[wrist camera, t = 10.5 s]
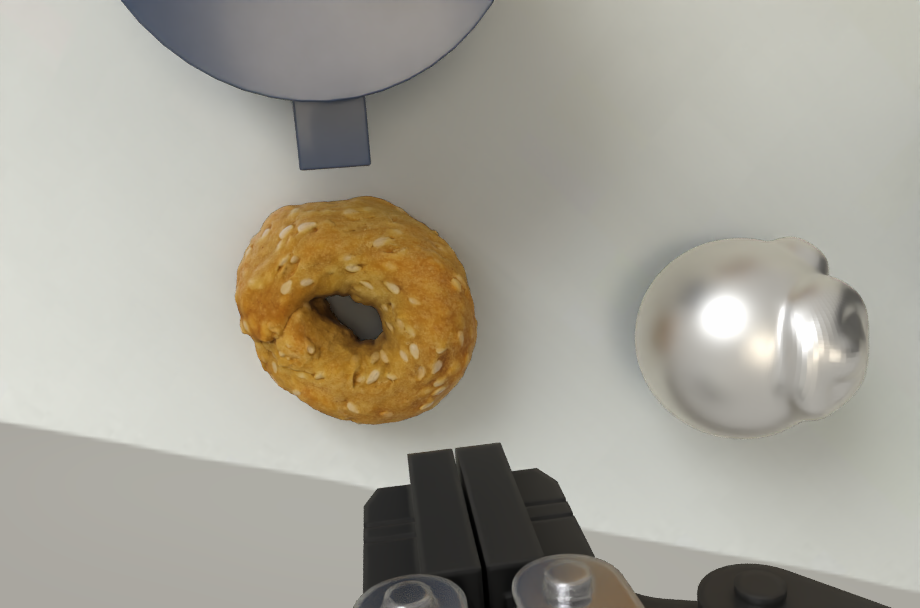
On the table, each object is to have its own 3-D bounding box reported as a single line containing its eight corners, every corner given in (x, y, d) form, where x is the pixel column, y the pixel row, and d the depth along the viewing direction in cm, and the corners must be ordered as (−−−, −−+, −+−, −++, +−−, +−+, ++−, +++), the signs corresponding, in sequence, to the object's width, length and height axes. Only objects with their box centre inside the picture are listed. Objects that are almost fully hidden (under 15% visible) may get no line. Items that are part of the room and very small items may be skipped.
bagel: (341, 137, 36) (341, 145, 32) (512, 302, 39) (535, 331, 35) (189, 298, 37) (168, 327, 32) (368, 447, 40) (372, 494, 35)
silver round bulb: (776, 398, 42) (902, 488, 33) (599, 394, 41) (677, 487, 31) (807, 224, 40) (952, 267, 31) (621, 213, 39) (713, 254, 29)
